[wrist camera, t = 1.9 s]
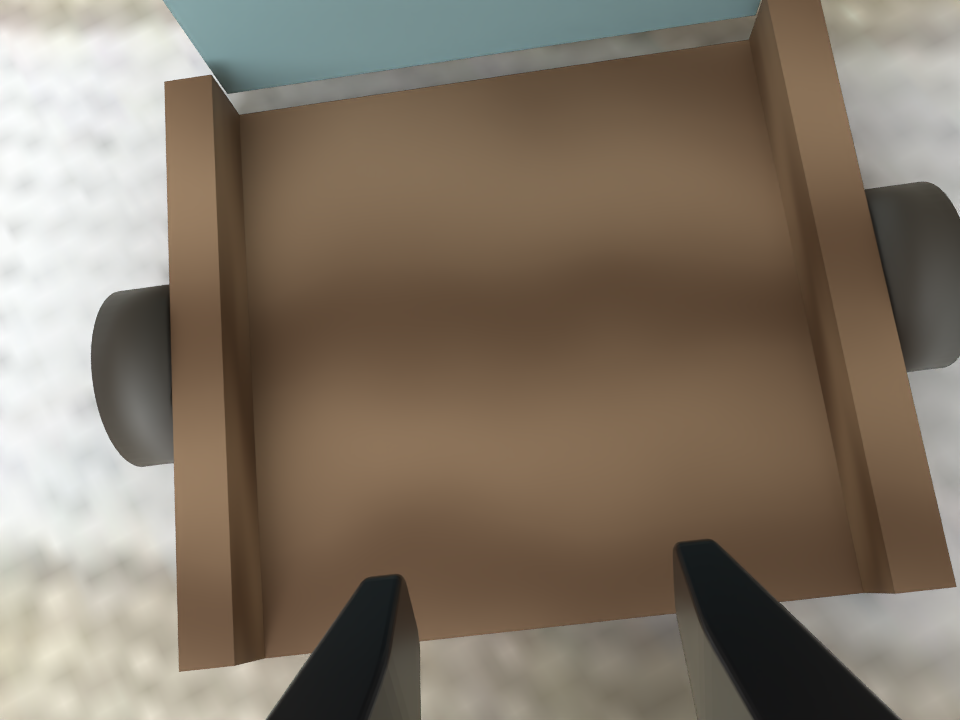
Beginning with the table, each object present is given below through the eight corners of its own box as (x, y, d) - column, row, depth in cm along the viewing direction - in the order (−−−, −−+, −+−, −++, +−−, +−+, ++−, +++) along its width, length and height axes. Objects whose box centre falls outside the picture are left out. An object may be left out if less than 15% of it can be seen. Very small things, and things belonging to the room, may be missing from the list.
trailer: (959, 578, 22) (1054, 577, 18) (178, 664, 23) (91, 682, 19) (839, 65, 25) (895, -39, 21) (166, 163, 27) (90, 83, 22)
